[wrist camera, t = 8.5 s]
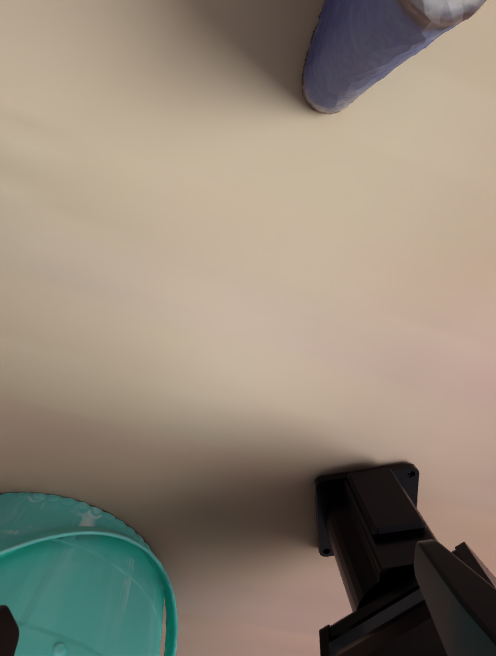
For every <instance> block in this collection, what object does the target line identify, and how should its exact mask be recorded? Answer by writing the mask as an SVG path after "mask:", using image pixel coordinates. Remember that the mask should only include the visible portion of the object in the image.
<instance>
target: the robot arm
mask: <svg viewBox="0 0 496 656" xmlns="http://www.w3.org/2000/svg"><path fill="white" fill-rule="evenodd" d="M410 471H411V472H410ZM418 481H419V471H418V469H417V468H416V467H415V465H414V464H411V463H408V464H401V465H394V466H387V467H380V468H373V469H366V470H360V471H353V472H346V473H339V474H332V475H325V476H320V477H318V478H317V479H316V480H315V483H314V485H315V504H316V522H317V541H318V549H319V553H320V555H321V556H324V557H328V556H335V559H336V562H337V565H338V568H339V571H340V574H341V577H342V581H343V584H344V587H345V590H346V593H347V596H348V599H349V602H350V605H351V608H352V611H353V612H352V613H351V614H349V615H347V616H346V617H344V618H343V619H341V620H339V621H338V622H336V623H334V624H333V625H331V626H330V625H327V626H325V627H324V628H322V629H320V630H319V636H320V655H321V656H496V578H495V576H494V575H493V574H492V573H491V572H490V571H489V570H488V568H487V567H486V566H485V565H484V564H483V563H482V561H481V560H480V559H479V558H478V557H477V556H476V555H475V553H474V552H473V551H472V550H471V549H470V548H469V546H468V545H467V544H466V543H465V542H463V543H461V544H459V545H458V546H456V547H455V549H456V550H454V551H452V552H450V551H449V550H448V549H447V548H445V547H444V546H443V545H442V544H440V543H439V542H438V541H437V539H436V538H435V536H434V535H433V533H432V532H431V530H430V528H429V527H428V525H427V524H426V522H425V521H424V519H423V517H422V516H421V514H420V513H419V511H418V510H417V495H418ZM322 484H325V485H322ZM18 640H19V627H18V625H17V623H16V621H15V619H14V617H13V615H12V613H11V611H10V609H9V607H8V606H7V605H0V656H14V655H15V651H16V648H17V644H18Z"/></svg>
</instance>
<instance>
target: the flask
mask: <svg viewBox="0 0 496 656" xmlns="http://www.w3.org/2000/svg"><path fill="white" fill-rule="evenodd" d="M485 1H486V0H326V1H325V3H324V5H323V8H322V12H321V13H320V15H319V21H318V24H317V26H316V27H315V31H313V35H312V38H311V42H310V47H309V50H308V52H307V55H306V59H305V64H304V71H303V74H302V85H303V94H304V96H305V98H306V100H307V102H308V103H309V104H310V106H311V107H312V108H314V109H315V110H317V111H318V112H320V113H326V114H333V113H337V112H339V111H341V110H342V109H344V108H346V107H347V106H348V105H349V104H350V103H352V102H353V101H354V100H355V99H357V98H358V97H359V96H360V95H361V94H363V93H364V92H365V91H366V90H367V89H368V88H370V87H371V86H372V85H373V84H374V83H376V82H377V81H379V80H381V79H383V78H384V77H385V76H386V75H387V74H389V73H390V72H391V71H392V70H393V69H394V68H396V67H397V66H399V65H400V64H402V63H403V62H404V61H406V60H407V59H408V58H410V57H411V56H413V55H416V54H417V53H418V52H420V51H421V50H422V49H424V48H426V47H427V46H428V45H429V44H430V43H431V42H433V41H434V40H435V39H436V38H437V37H439V36H440V35H442V34H443V33H444V32H446V31H449V30H450V29H452V28H453V27H455V26H456V25H458V24H459V23H461V22H462V21H464V20H467V19H469V18H470V17H471V16H472V15H473V14H474V13H475V12H476V11H477V10H478V9H479V8H480V7H481V6H482V5H483V4H484V2H485Z"/></svg>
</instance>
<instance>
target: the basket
mask: <svg viewBox="0 0 496 656" xmlns="http://www.w3.org/2000/svg"><path fill="white" fill-rule="evenodd" d="M164 598H165V606H166V641H165V652H164V656H176V648H177V633H178V620H177V608H176V600H175V595H174V591H173V588H172V585H171V582H170V579H169V577H168V575H167V573H166V571H165V569H164V567H163V565H162V564H161V563H160V561H159V560H158V559H157V558H156V556H155V554H154V553H153V552H152V551H151V550H150V547H149V545H148V544H147V543H145V542H144V540H143V538H142V537H141V536H140V535H138V534H136V533H135V531H134V530H133V529H132V528H131V527H128V526H126V525H125V523H124V522H123V521H121V520H119V519H116V518H115V517H114V516H113V515H111V514H110V513H107V512H103V511H102V510H101V509H99V508H97V507H91V506H89V505H88V504H87V503H85V502H78V501H75V500H74V499H72V498H62V497H60V496H58V495H46V494H43V493H33V494H32V493H29V492H20V493H11V492H10V493H4V494H0V605H7V606H8V607H9V609H10V611H11V613H12V615H13V617H14V619H15V621H16V623H17V625H18V627H19V640H18V644H17V648H16V651H15V655H14V656H159V654H160V643H161V633H162V621H163V607H164Z"/></svg>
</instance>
